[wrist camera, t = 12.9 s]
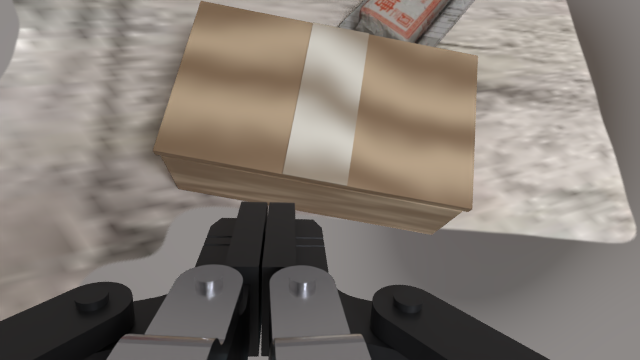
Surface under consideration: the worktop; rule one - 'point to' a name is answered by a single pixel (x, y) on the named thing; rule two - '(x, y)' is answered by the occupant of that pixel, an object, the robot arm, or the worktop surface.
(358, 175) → the carton lid
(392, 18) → the packaged product
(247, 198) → the carton
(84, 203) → the worktop surface
